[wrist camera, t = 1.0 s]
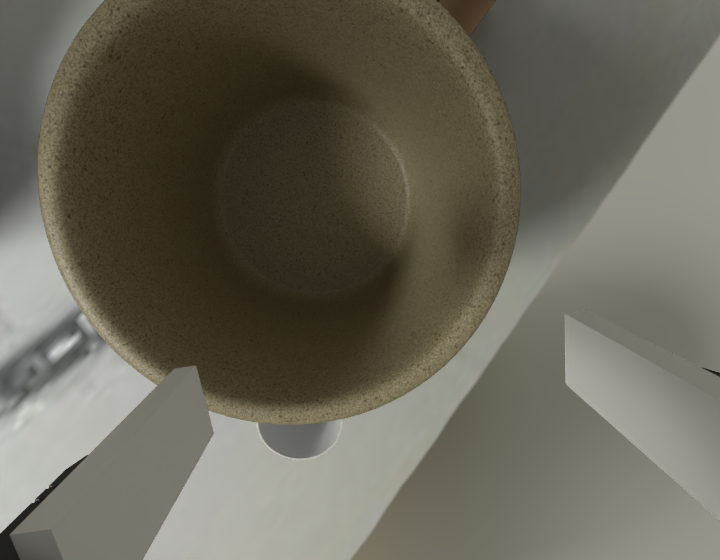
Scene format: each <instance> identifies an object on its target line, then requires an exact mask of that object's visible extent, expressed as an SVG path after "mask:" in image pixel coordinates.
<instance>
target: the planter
mask: <svg viewBox="0 0 720 560" xmlns="http://www.w3.org/2000/svg"><path fill="white" fill-rule="evenodd" d="M38 188H39V199H40V205H41V212H42V217H43V222H44V226H45V230H46V234H47V238H48V241H49V244H50V247H51V250H52V253H53V256H54V258H55V261H56V263H57V266H58V268H59V271H60V273H61V275H62V277H63V279H64V281H65V283H66V285H67V287H68V289H69V291H70V293H71V294H72V296H73V298H74V300H75V301H76V303H77V305H78V306H79V308H80V309H81V311H82V312H83V314H84V315H85V316H86V318H87V319H88V321H89V322H90V323H91V325H92V326H93V327H94V328H95V330H96V331H97V332H98V333H99V335H100V336H101V337H102V338H103V339H104V340H105V341H106V342H107V343H108V345H109V346H110V347H111V348H112V349H113V350H114V351H115V352H116V353H117V354H118V355H119V356H121V357H122V358H123V359H124V360H125V361H126V362H127V363H128V364H130V365H131V366H132V367H133V368H134V369H136V370H137V371H138V372H139V373H141V374H142V375H143V376H145V377H146V378H148V379H149V380H150V381H152V382H153V383H155V384H156V385H159V384H160V383H161V382H162V381H163V380H164V379H165V378H166V377H167V376H168V375H169V374H170V373H171V372H172V371H173V370H174V369H175V368H181V367H189V366H196V367H197V371H198V375H199V379H200V382H201V386H202V390H203V394H204V398H205V402H206V405H207V409H208V410H209V411H212V412H215V413H218V414H222V415H225V416H228V417H232V418H237V419H241V420H246V421H252V422H259V423H268V424H283V425H298V424H314V423H321V422H329V421H334V420H339V419H344V418H348V417H351V416H355V415H359V414H362V413H364V412H367V411H370V410H373V409H376V408H378V407H380V406H383V405H385V404H387V403H389V402H391V401H393V400H395V399H397V398H399V397H401V396H403V395H405V394H406V393H408V392H410V391H411V390H413V389H415V388H416V387H418V386H419V385H421V384H422V383H423V382H425V381H426V380H428V379H429V378H430V377H432V376H433V375H434V374H435V373H436V372H438V371H439V370H440V369H441V368H442V367H444V366H445V365H446V364H447V363H448V362H449V361H450V360H451V359H452V358H453V357H454V356H455V355H456V354H457V353H458V352H459V351H460V349H461V348H462V347H463V346H464V345H465V344H466V343H467V341H468V340H469V339H470V338H471V336H472V335H473V334H474V332H475V331H476V330H477V328H478V327H479V325H480V324H481V322H482V321H483V319H484V318H485V316H486V315H487V313H488V311H489V309H490V307H491V306H492V304H493V302H494V300H495V298H496V296H497V294H498V292H499V289H500V287H501V285H502V283H503V280H504V277H505V275H506V272H507V269H508V267H509V263H510V260H511V256H512V253H513V249H514V245H515V240H516V235H517V230H518V222H519V214H520V197H521V188H520V168H519V158H518V151H517V146H516V140H515V135H514V131H513V127H512V123H511V120H510V116H509V113H508V110H507V107H506V104H505V102H504V99H503V96H502V94H501V92H500V89H499V87H498V85H497V82H496V80H495V78H494V76H493V74H492V72H491V70H490V69H489V67H488V65H487V63H486V61H485V59H484V58H483V56H482V55H481V53H480V52H479V50H478V48H477V47H476V45H475V44H474V42H473V41H472V40H471V38H470V37H469V36H468V34H467V33H466V32H465V30H464V29H463V28H462V27H461V25H460V24H459V23H458V22H457V21H456V20H455V19H454V17H453V16H452V15H451V14H450V13H449V12H448V11H447V10H446V9H445V8H444V7H443V6H442V5H441V4H440V3H439V2H438V1H437V0H105V1H104V2H103V3H102V4H101V5H100V6H99V7H98V8H97V9H96V11H95V12H94V13H93V14H92V16H91V17H90V18H89V19H88V20H87V22H86V23H85V24H84V26H83V27H82V28H81V30H80V31H79V33H78V34H77V36H76V37H75V39H74V40H73V42H72V44H71V45H70V47H69V49H68V51H67V52H66V54H65V56H64V58H63V60H62V62H61V64H60V66H59V69H58V71H57V73H56V75H55V78H54V80H53V83H52V86H51V89H50V92H49V95H48V98H47V102H46V106H45V110H44V114H43V118H42V124H41V130H40V136H39V147H38Z"/></svg>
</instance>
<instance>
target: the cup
mask: <svg viewBox="0 0 720 560" xmlns="http://www.w3.org/2000/svg"><path fill="white" fill-rule="evenodd" d="M342 425H343V421H342V419H339V420H334V421H329V422H321V423H314V424H298V425H283V424H268V423H259V422H256V427H257V431H258V434H259V436H260V438H261V440H262V442H263V443H264V444H265V445H266V446H267V447H268V448H269V449H270V450H271V451H272V452H274V453H275V454H277V455H279V456H281V457H284V458H287V459H292V460H308V459H313V458H316V457H319V456H321V455H323V454H324V453H326V452H327V451H329V450H330V449H331V448H332V447H333V446H334V445H335V444H336V442H337V441H338V439H339V437H340V434H341V431H342Z"/></svg>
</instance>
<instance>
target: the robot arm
mask: <svg viewBox="0 0 720 560" xmlns="http://www.w3.org/2000/svg"><path fill="white" fill-rule="evenodd" d="M565 372H566V373H565V374H566V385H567V386H568V387H570V388H571V389H572V390H573V391H574V392H575V393H576V394H578V395H579V396H580V397H581V398H582V399H583V400H584V401H585V402H587V403H588V404H589V405H590V406H591V407H592V408H594V409H595V410H596V411H597V412H598V413H599V414H600V415H601V416H602V417H604V418H605V419H606V420H607V421H608V422H609V423H610V424H611V425H613V426H614V427H615V428H616V429H617V430H618V431H619V432H621V434H623V435H624V436H625V437H626V438H627V439H628V440H629V441H631V442H632V443H633V444H634V445H635V446H636V447H637V448H639V449H640V450H641V451H642V452H643V453H644V454H645V455H646V456H648V457H649V458H650V459H651V460H652V461H653V462H654V463H655V464H656V465H658V466H659V467H660V468H661V469H662V470H663V471H664V472H666V473H667V474H668V475H669V476H670V477H671V478H672V479H674V480H675V481H676V482H677V483H678V484H679V485H680V486H681V487H682V488H684V489H685V490H686V491H687V492H688V493H689V494H690V495H691V496H693V497H694V498H695V499H696V500H697V501H698V502H699V503H700V504H702V505H703V506H704V507H705V508H706V509H707V510H708V511H710V512H711V513H712V514H713V515H714V516H715V517H716V518H717V519H718V520H720V373H718V372H715V371H712V370H708V369H705V368H701V367H698V366H697V365H695V364H693V363H691V362H689V361H687V360H685V359H683V358H681V357H679V356H677V355H674V354H673V353H671V352H669V351H667V350H665V349H663V348H661V347H659V346H657V345H655V344H653V343H651V342H649V341H647V340H645V339H643V338H641V337H639V336H636V335H635V334H633V333H630V332H629V331H627V330H625V329H623V328H621V327H619V326H617V325H615V324H613V323H611V322H608V321H607V320H605V319H603V318H601V317H598V316H597V315H595V314H593V313H590V312H589V311H587V310H586V311H578V312H571V313H565ZM213 434H214V432H213V428H212V425H211V421H210V417H209V413H208V409H207V405H206V402H205V398H204V394H203V390H202V386H201V382H200V379H199V375H198V371H197V367H196V366H189V367H181V368H175V369H174V370H173V371H172V372H171V373H170V374H169V375H168V376H167V377H166V378H165V379H164V380H163V381H162V382H161V383H160V384H159V385H158V386H157V387H156V388H155V389H154V390H153V391H152V392H151V393H150V394H149V395H148V396H147V397H146V398H145V399H144V400H143V401H142V402H141V403H140V404H139V405H138V406H137V407H136V408H135V409H134V410H133V411H132V412H131V413H130V414H129V415H128V416H127V417H126V418H125V419H124V420H123V421H122V422H121V423H120V424H119V425H118V426H117V427H116V428H115V429H114V430H113V431H112V432H111V433H110V434H109V435H108V436H107V437H106V438H105V439H104V440H103V441H102V442H101V443H100V444H99V445H98V446H97V447H96V448H95V449H94V450H93V451H92V452H91V453H90V454H89V455H87V456H85V457H84V458H82V459H81V460H79V461H78V462H76V463H75V464H73V465H72V466H70V467H69V468H68V469H66V470H65V471H64V472H63V473H62V474H61V475H60V476H59V477H58V478H57V479H56V480H55V481H54V482H53V483H52V484H51V485H50V486H49V489H46V490H44V491H43V492H42V493H41V494H40V495H39V496H38V497H37V498H36V499H35V503H31V504H30V505H29V506H28V507H27V508H26V509H25V510H24V511H23V512H22V513H21V514H20V515H19V516H18V517H17V518H16V519H15V520H14V521H13V522H12V523H11V524H10V525H9V526H8V527H7V528H6V529H5V530H4V531H3V532H1V533H0V560H143V558H144V556H145V554H146V553H147V551H148V549H149V547H150V546H151V544H152V542H153V540H154V538H155V537H156V535H157V533H158V531H159V530H160V528H161V526H162V524H163V522H164V521H165V519H166V517H167V515H168V514H169V512H170V510H171V508H172V506H173V505H174V503H175V501H176V499H177V498H178V496H179V494H180V492H181V491H182V489H183V487H184V485H185V483H186V482H187V480H188V478H189V476H190V475H191V473H192V471H193V469H194V467H195V466H196V464H197V462H198V460H199V459H200V457H201V455H202V453H203V452H204V450H205V448H206V446H207V444H208V443H209V441H210V439H211V437H212V436H213Z"/></svg>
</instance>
